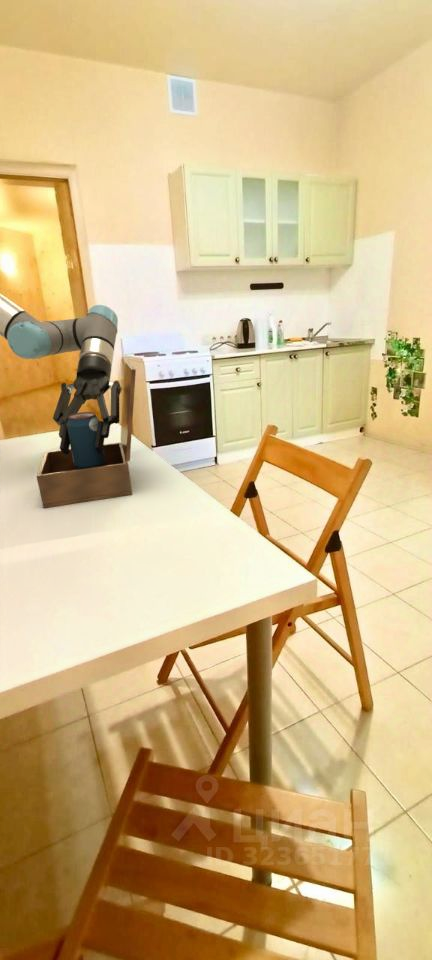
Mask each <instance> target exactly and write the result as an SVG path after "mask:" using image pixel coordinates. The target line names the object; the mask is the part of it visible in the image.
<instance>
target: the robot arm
mask: <svg viewBox="0 0 432 960" xmlns="http://www.w3.org/2000/svg"><path fill="white" fill-rule="evenodd" d="M118 319H119V318H118V314H116V312H115V311H114V310H113V309H112V308H110V307H109V306H107V305H103V304H94V305H92V306H91V307H90V308H89V309H88V310H87V313H86V316H82V317H77V318H70V319H59V320H44V321H41V320H39V319H37V318H36V317H34V316H33V315H31V314H30V313H29V312H27V311H26V310H25V309H23V308H22V307H21V306H19V305H18V304H16V303H14V302H13V301H12V300H10V299H9V298H8V297H6V295H3V294H2V293H0V337H2V338H4V339H5V340H6V341H7V344H8V346H9V348H10V350H11V351H12V353H13V354H14V355H16V356H17V357H19V358H21V359H23V360H24V359H25V360H36V359H41V358H45V357H49V356H55V355H59V354H65V353H71V352H79V351H80V352H79V357H78V359H79V360H78V363H77V368H76V377H75V380H74V381H73V382H72V383H69V384H67V383H66V382H62V383H61V384H60V390H61V392H60V395H59V398H58V400H57V404H56V407H55V409H54V413H53V416H52V420H54V422H55V424H57V426H59V429H58V430H59V431H58V437H59V438H60V445H59V450H61V451H62V452H63V453H64V454H68V452H69V449H70V448H71V446H70V441H69V435H68V430H67V422H68V419H69V418H68V416H69V415H71V414H75V413H79V411H80V410H81V408H82V406H83V405H85V404H86V402H87V401H89V400H96V401H97V406H98V408H99V412H100V416H101V420H99V421H98V428H97V435H96V441H95V449H96V450H97V451H98V453H102V452H103V445H104V444H105V439H108V438H109V436H110V430H111V425H113V424H119V423H120V395H121V392H122V390H123V387H122V385H121V383H120V381H119V380H115V381H111V374H112V366H113V360H114V355H115V346H116V340H117V334H118V322H119V320H118ZM74 390H75V392H74ZM109 390H110V415H109V411H108V407H107V404H106V397H105V394H106V393H107V392H108V391H109ZM72 395H73V397H72Z"/></svg>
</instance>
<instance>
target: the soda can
mask: <svg viewBox="0 0 432 960" xmlns="http://www.w3.org/2000/svg"><path fill="white" fill-rule="evenodd" d="M68 418H69V419H68V422H67V430H68V435H69V441H70V449H71V452H72V458H73V463H74V466H75V467H76V468H77V469H85V468H92V467H99V466H103V465H104V463H105V453H104V447H103V452H102V453H98V451H97V450H96V449H95V441H96V435H97V428H98V421H100V419H99V418H98V416H97V414H96V412H93V411H83V412H78V413H75V414H71V415H69V416H68Z"/></svg>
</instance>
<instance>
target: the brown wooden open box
mask: <svg viewBox="0 0 432 960" xmlns="http://www.w3.org/2000/svg"><path fill="white" fill-rule="evenodd" d="M103 447H104V453H105V463H104V465H103V466H99V467H92V468H85V469H77V468H76V467H75V466H74V463H73V458H72V452H71V448H69V452H68V454H64V453H63V452H62V451H61V450H60V449H57V450H51V451H50V450H49V451H44V454H43V456H42V457H43V458H42V459H41V462H40V464H39V468H38V471H37V473H36V481H37V485H38V489H39V494H40V499H41V503H42V508H43V509H47V508H53V507H60V506H61V507H62V506H67V505H74V504H79V503H85V502H92V501H99V500H106V499H113V498H119V497H125V496H132V495H133V489H132V482H131V475H130V468H129V461H126V460H125V456H124V452H123V448H122V444H121V441H120V442H113V443H104V445H103Z"/></svg>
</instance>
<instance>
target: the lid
mask: <svg viewBox="0 0 432 960" xmlns="http://www.w3.org/2000/svg"><path fill="white" fill-rule="evenodd" d="M136 373H137V369H136V368H135V367H134V366H133V365H132V364H131V363H130V361H125V362H124V374H123V389H122V390H123V393H122V407H121V409H122V410H121V423H120V425H121V426H120V442H121V444H122V448H123V452H124V456H125V460H126V461H127V462H131V448H132V432H133V419H134V403H135V389H136Z"/></svg>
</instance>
